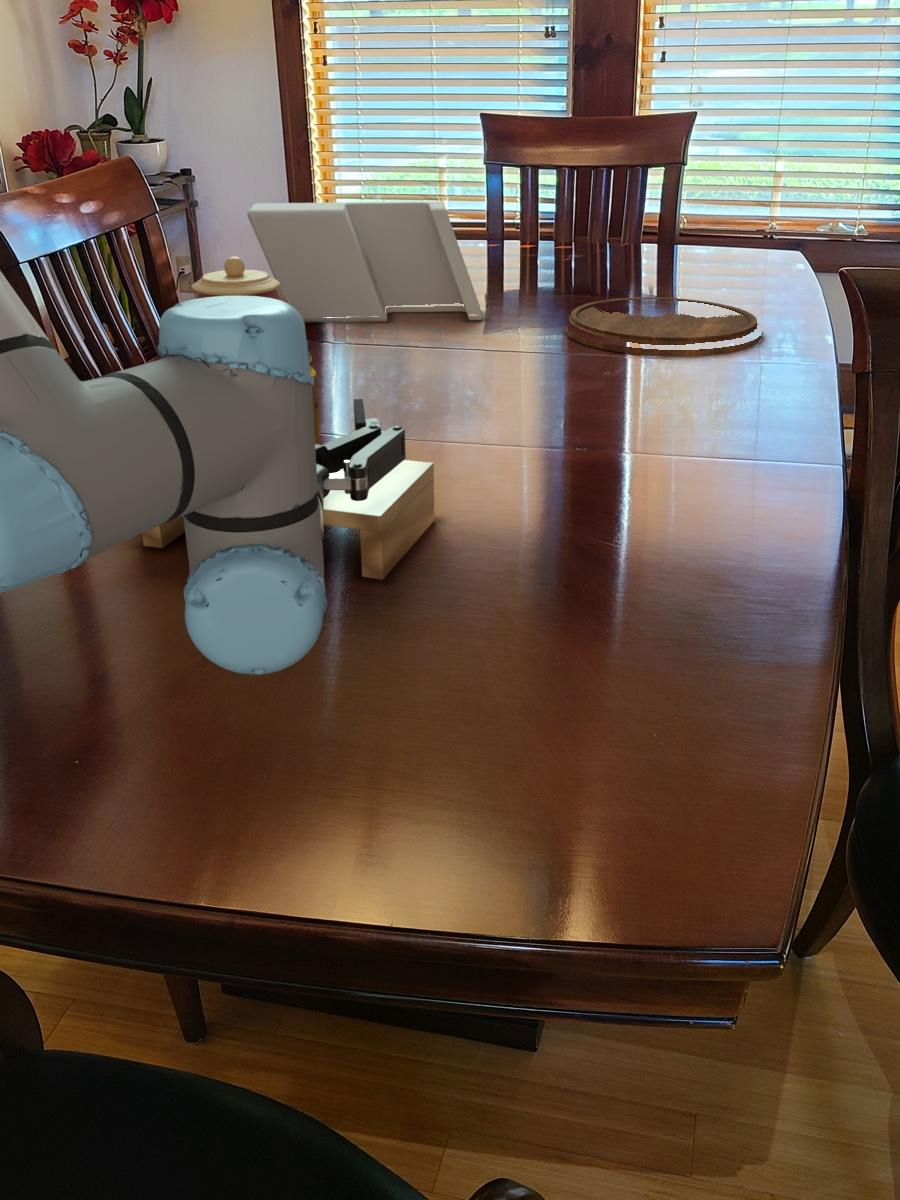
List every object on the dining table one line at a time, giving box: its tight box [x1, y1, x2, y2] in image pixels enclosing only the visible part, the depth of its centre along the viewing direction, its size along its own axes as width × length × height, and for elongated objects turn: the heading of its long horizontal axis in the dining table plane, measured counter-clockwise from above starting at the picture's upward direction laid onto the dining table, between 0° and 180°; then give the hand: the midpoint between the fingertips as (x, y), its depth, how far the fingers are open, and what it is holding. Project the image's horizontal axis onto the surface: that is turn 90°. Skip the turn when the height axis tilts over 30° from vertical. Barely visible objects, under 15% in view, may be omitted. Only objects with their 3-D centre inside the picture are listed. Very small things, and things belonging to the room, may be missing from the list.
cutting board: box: [562, 296, 764, 357], centre depth 176 cm, size 32×32×2 cm
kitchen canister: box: [191, 256, 288, 303], centre depth 142 cm, size 13×13×18 cm
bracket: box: [247, 201, 484, 324], centre depth 183 cm, size 30×10×30 cm, turn 93°
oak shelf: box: [141, 459, 435, 580], centre depth 102 cm, size 24×14×6 cm, turn 72°
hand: (276, 417), depth 89 cm, fingers open, 13 cm apart
